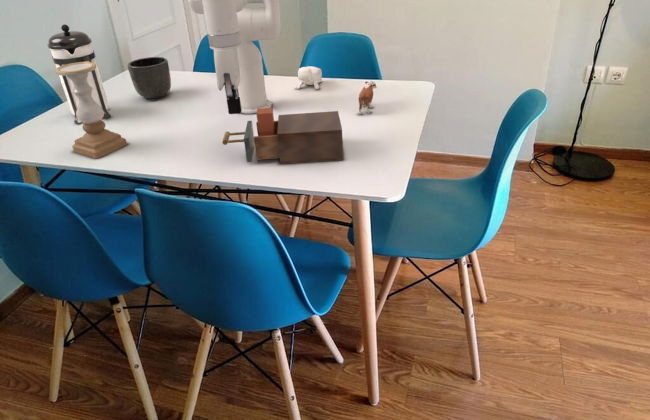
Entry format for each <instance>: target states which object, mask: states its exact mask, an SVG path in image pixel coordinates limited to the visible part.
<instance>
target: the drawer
mask: <svg viewBox="0 0 650 420" xmlns="http://www.w3.org/2000/svg"><path fill="white" fill-rule="evenodd" d="M255 123H256V133H257V135H256V136H255V135H254V133H255V132H254V127H253V120H247V121H246V126H245V129H244V130H245V131H237V132H230V131H225V132H224V134H223V138H222V145H224V146H226V145H228V144H233V143H243V144H244V151H245V157H246V158H245V159H246V163H252V162H253V156H254V150H255V157H256V160H257V161H258V160H271V159H280V155H279V146H278V137H277V130H278V120H274V126H275V135H268V136H259V130H258V122H257V121H256V122H255ZM230 136H231V137H232V136H243V138H241V139H239V138H238V139H230Z"/></svg>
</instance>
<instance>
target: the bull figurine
mask: <svg viewBox="0 0 650 420" xmlns="http://www.w3.org/2000/svg"><path fill="white" fill-rule="evenodd" d="M364 84H365V85H364V87H362V88H361V91H360V92H359V95H358V105H359V106H358V111H359V112H358V115H362V108H365V111H366V113H368V114H371V110H370V109H372V108H373V106H372V103H373V102H372V101H373V98H374V89H377V87H378V86H377V84H376V82H375V81H374V80H372V79H371V80H369V81H365V82H364Z"/></svg>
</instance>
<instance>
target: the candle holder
mask: <svg viewBox="0 0 650 420" xmlns="http://www.w3.org/2000/svg"><path fill="white" fill-rule="evenodd" d="M95 68H96V64H95V63H93V62H77V63H71V64H66V65H63V66H60V67H58V68H55V71H54V72H55V74H56V75H58V76H59V75H62V76H67V77H68V78H69V79H70V80H72V82H73V83H74V89H73V93H74V94H76V96H77V97H78V98H79V104H78V107H77V111H76V117H77V119H78V120H79V121H81V123H83V125H82V130H83V132H85V133H84V134H83V135H82V136H81V137H79V138H77V139H75V140H74V144H72V149H73V152H74V153H77V154H79V155H83V156H86V157H90V158H93V159H100V158H101V157H104V156H106V155H108V154H111V153H113V152H115V151H117V150H119V149H122V148H123V147H125V146H127V145H128V141H127V139H126V138H124V137H123V136H122V135H121V134H119V133H118V132H114V131H111V130H110V129H106V123H105V121H103V120H102V119H103V118H104V111H103V109H102V107H101V106H100V105H98V104H97V103H96V102H95V101H94V100H93V99H92V97H91V93H92V90H93V88H92V87H91V86H90V85H89V84H88V82H87V77H88V72H90V71H93V70H94V69H95Z"/></svg>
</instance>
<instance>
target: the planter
mask: <svg viewBox="0 0 650 420" xmlns="http://www.w3.org/2000/svg"><path fill="white" fill-rule="evenodd" d="M127 70H128V73H129V76H130V80H131V83H132V85H133V87H134V90H135V91H136V93H137V94H138V95H139V96H141V97H142V98H143V99H144V100H146V101H158V100H162V99H164V98H166V97H167V96H168V93H169V92H170V91H171V88H172V77H171V71H170V66H169V60H168V59H167V58H166V57H163V56H150V57H149V56H148V57H142V58H137V59H134V60H132V61H129V62H128V63H127Z"/></svg>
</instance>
